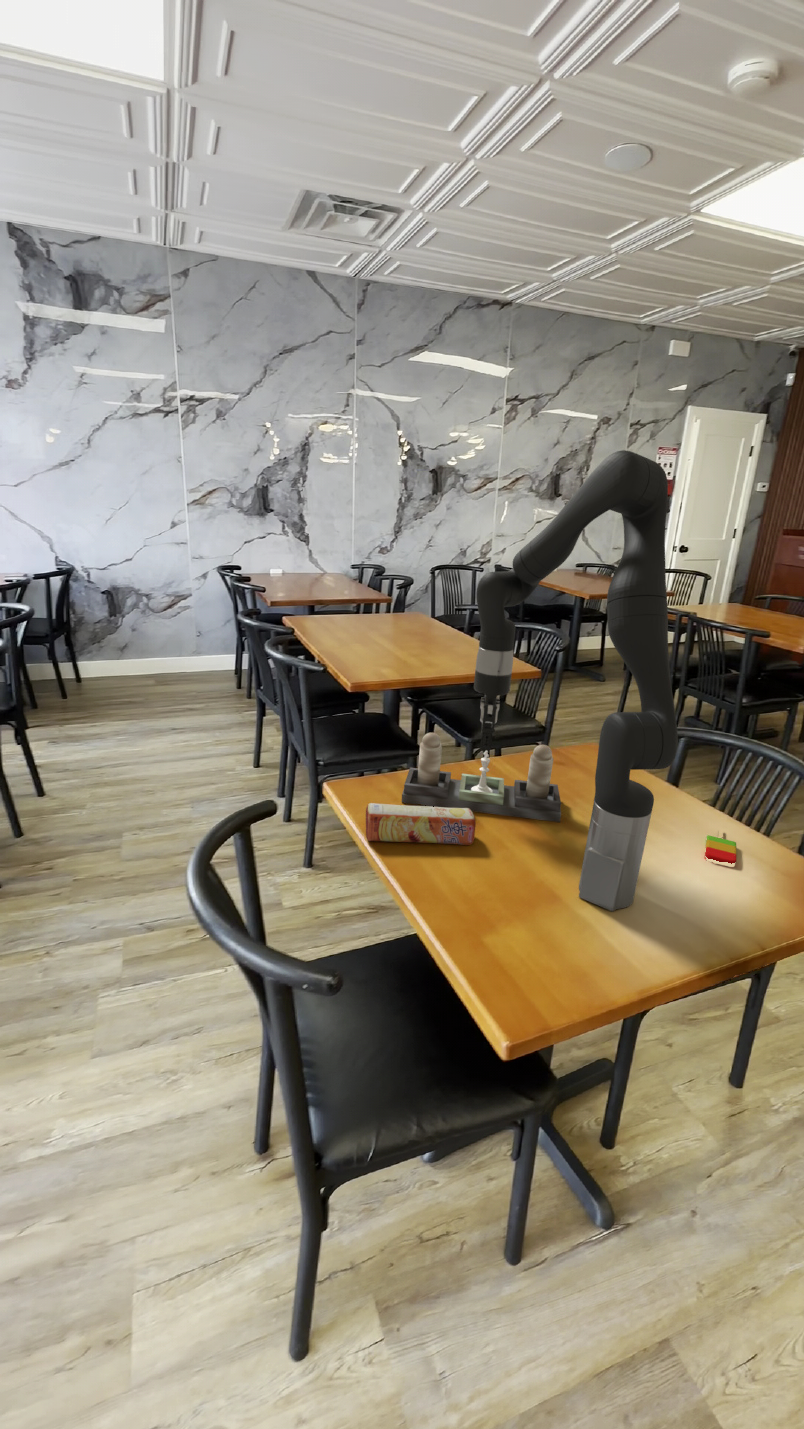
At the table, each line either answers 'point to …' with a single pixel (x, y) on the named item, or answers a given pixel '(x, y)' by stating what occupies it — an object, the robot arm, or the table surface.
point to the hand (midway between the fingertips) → (485, 742)
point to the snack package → (419, 824)
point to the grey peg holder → (517, 800)
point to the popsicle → (720, 849)
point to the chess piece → (483, 776)
